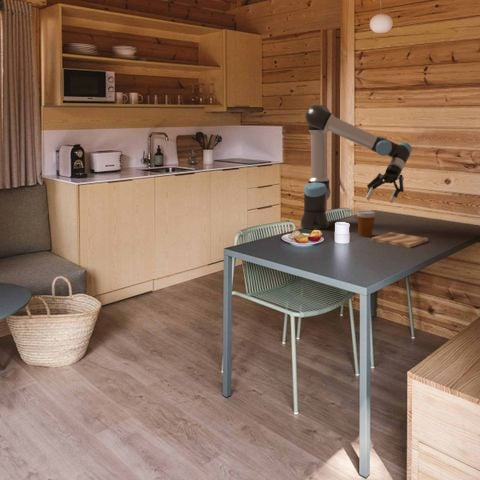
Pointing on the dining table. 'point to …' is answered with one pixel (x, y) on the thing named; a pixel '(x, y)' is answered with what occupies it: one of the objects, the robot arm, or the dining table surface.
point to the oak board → (399, 239)
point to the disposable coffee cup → (365, 222)
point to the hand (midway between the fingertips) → (378, 200)
